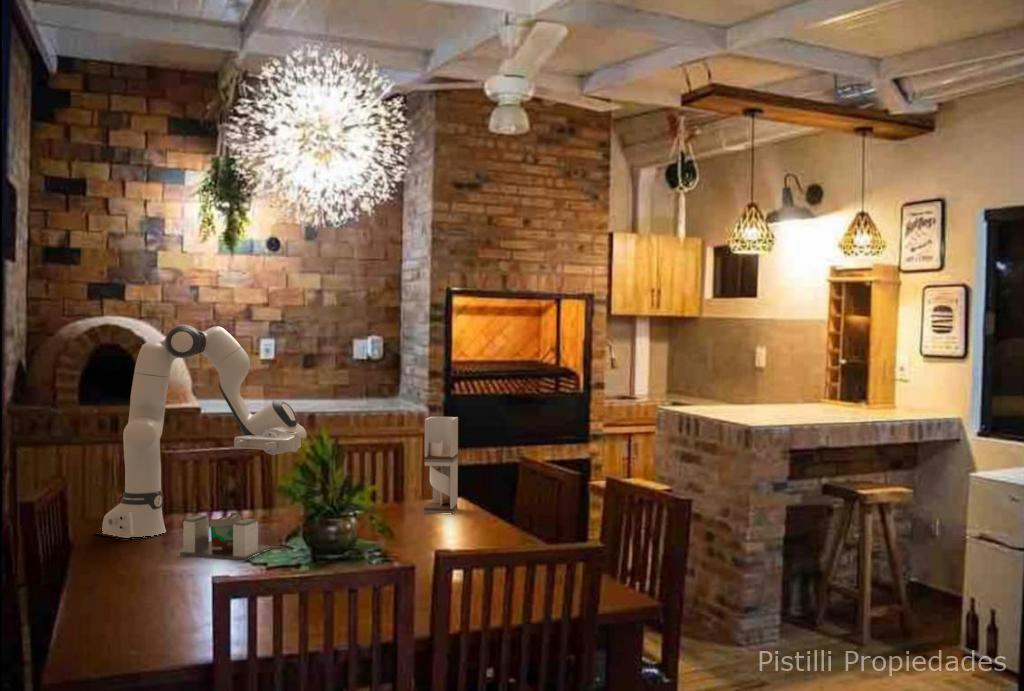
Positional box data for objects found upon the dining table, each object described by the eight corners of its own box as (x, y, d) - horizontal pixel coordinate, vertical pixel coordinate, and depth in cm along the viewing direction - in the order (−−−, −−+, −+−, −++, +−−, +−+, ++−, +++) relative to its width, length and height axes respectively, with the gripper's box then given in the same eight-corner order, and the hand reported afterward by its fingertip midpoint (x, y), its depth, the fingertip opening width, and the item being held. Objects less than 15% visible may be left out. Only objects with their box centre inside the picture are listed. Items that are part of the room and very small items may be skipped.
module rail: (180, 555, 273) (180, 519, 273) (209, 544, 287) (209, 510, 287) (245, 561, 267) (245, 524, 267) (272, 549, 281) (272, 514, 281)
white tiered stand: (430, 507, 351) (430, 416, 350) (457, 508, 350) (457, 417, 349) (424, 513, 340) (424, 419, 339) (452, 514, 338) (453, 419, 338)
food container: (227, 554, 270) (227, 520, 270) (209, 553, 272) (209, 519, 272) (249, 545, 282) (249, 513, 282) (232, 544, 284) (232, 512, 284)
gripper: (247, 430, 308) (223, 434, 295) (301, 432, 302) (279, 437, 289) (247, 449, 308) (223, 453, 295) (301, 451, 302) (279, 457, 289)
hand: (251, 445), depth 292 cm, fingers open, 8 cm apart
